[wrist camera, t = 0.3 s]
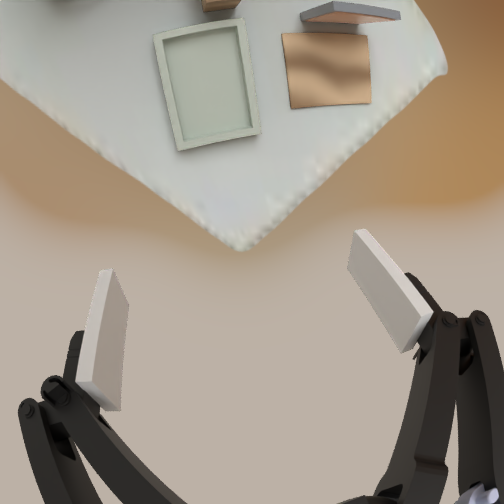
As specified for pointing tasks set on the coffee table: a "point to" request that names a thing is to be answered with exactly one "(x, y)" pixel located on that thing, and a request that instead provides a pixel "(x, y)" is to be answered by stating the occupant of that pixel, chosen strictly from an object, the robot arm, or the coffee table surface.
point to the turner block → (218, 4)
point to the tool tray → (208, 82)
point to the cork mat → (327, 69)
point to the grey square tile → (349, 13)
